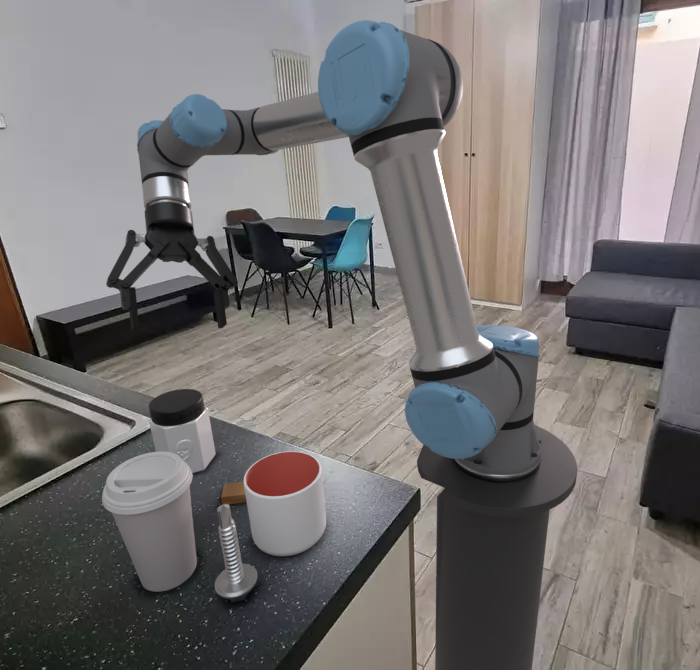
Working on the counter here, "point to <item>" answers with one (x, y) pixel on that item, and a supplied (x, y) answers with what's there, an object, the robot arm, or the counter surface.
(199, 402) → the jar
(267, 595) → the counter surface
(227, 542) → the screw
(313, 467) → the cup
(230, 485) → the brown wooden bar
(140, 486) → the coffee cup
